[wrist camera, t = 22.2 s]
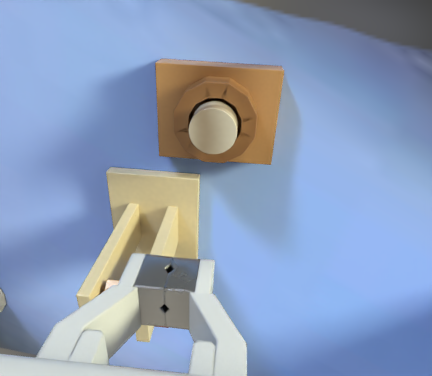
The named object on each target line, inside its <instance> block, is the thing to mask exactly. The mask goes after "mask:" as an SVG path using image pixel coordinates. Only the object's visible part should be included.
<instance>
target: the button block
mask: <svg viewBox="0 0 432 376" xmlns="http://www.w3.org/2000/svg"><path fill="white" fill-rule="evenodd" d="M155 65H156V89H157V113H158V137H159V156H165V157H178V158H191V159H199V160H201V161H203V162H216V163H225V162H227V161H229V162H242V163H255V164H268V165H271V160H272V153H273V146H274V139H275V132H276V125H277V118H278V111H279V104H280V97H281V90H282V83H283V76H284V70H283V68H282V66H271V65H255V64H239V63H223V62H207V61H191V60H176V59H160V60H159V61H157V62H156V63H155ZM209 101H220V102H223V103H225V104H227V105H229V106H230V107H231V108H232V109H233V110H234V112H235V114H236V116H237V120H238V128H237V137H236V140H235V142H234V144H233V145H232V147H231V148H230V149H228V150H227V151H225V152H223V153H220V154H207V153H204V152H202V151H200V150H199V149H197V148H196V147H195V146H194V145H193V143H192V141H191V139H190V137H189V124H190V121H191V119H192V117H193V115H194V113H195V111H196V110H197V108H198V107H199V106H200V105H202V104H203V103H206V102H209Z"/></svg>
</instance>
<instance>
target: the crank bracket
mask: <svg viewBox="0 0 432 376" xmlns="http://www.w3.org/2000/svg"><path fill="white" fill-rule="evenodd" d="M106 175H107V183H108V190H109V198H110V205H111V213H112V220H113V228H114V230H113V232H112V234H111V236H110V237H109V239H108V241H107V243H106V244H105V246H104V248H103V249H102V251H101V253H100V255H99V256H98V258H97V260H96V262H95V263H94V265H93V267H92V269H91V270H90V272H89V274H88V275H87V277H86V279H85V281H84V282H83V284H82V286H81V288H80V289H79V291H78V293H77V295H76V296H77V301H78V305H79V308H80V307H82V306H83V305H85V304H86V303H88V302H89V301H90V300H92V299H93V298H95V297H96V296H98V295H99V294H101V293H102V292H104V290H105V286H106V282H107V279H111V280H120V278H121V276H122V274H123V272H124V269H125V267H126V265H127V263H128V261H129V258H130V256H131V255H132V254H133V253H140V254H152V255H160V256H169V257H181V258H193V259H198V233H199V192H200V174H192V173H179V172H167V171H154V170H142V169H129V168H117V167H110V168H109V169H108V171H107V172H106ZM153 328H154V326H148V325H141V327H140V328H139V329H138V330H137V331H136V339H137V341H142V342H150V339H151V335H152V332H153Z"/></svg>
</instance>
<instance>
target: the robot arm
mask: <svg viewBox="0 0 432 376" xmlns="http://www.w3.org/2000/svg"><path fill="white" fill-rule="evenodd" d="M214 264H215V261H214V260H209V259H193V258H181V257H169V256H160V255H152V254H140V253H133V254H132V255H131V256H130V258H129V261H128V263H127V265H126V267H125V269H124V272H123V274H122V276H121V278H120V281H119V283H118V285H113V286H111V287H110V288H108V289H107V290H105V291H104V292H102V293H101V294H99V295H98V296H96V297H95V298H93V299H92V300H90V301H89V302H88V303H86V304H85V305H83V306H82V307H80V308H79V309H77V310H76V311H74V312H73V313H71V314H70V315H68V316H67V317H66V318H64V319H63V320H61V321H60V322H58V323H57V324H55V326H54V327H53V329H52V331H51V332H50V334H49V336H48V337H47V339H46V341H45V342H44V344H43V346H42V348H41V349H40V351H39V353H38V354H37V356H36V358H35V357H25V356H15V355H6V354H0V376H247V344H246V342H245V341H244V339H243V338H242V336H241V334H240V333H239V331H238V330H237V328H236V327H235V325H234V324H233V322H232V321H231V319H230V317H229V316H228V314H227V313H226V311H225V310H224V308H223V307H222V305H221V304H220V302H219V300H218V299H217V297H216V296H215V294H213V280H214ZM141 325H148V326H163V327H172V328H180V329H188V330H189V331H190V334H191V336H192V338H193V341H194V343H193V348H192V354H191V360H190V365H189V371H188V373H178V372H169V371H159V370H150V369H140V368H131V367H121V366H111V365H109V359H110V358H111V357H112V356H113V355H114V354H115V353H116V352H117V351H118V350H119V349H120V348H121V346H122V345H123V344H124V343H125V342H126V341H127V340H128V339H129V338H130V337H131V336H132V335H133V334H134V333H135V332H136V331H137V330H138V329H139V328H140V327H141Z"/></svg>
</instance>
